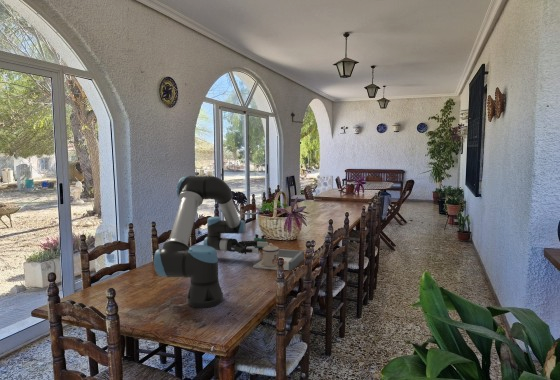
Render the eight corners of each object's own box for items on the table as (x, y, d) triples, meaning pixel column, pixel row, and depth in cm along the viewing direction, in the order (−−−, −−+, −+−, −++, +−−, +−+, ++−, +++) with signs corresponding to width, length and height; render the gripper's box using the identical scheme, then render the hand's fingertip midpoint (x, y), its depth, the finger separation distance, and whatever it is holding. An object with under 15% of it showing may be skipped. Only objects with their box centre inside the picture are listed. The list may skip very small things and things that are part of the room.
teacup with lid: (275, 267, 201) (274, 246, 200) (259, 265, 205) (259, 244, 204) (283, 261, 212) (283, 241, 211) (269, 260, 216) (268, 239, 215)
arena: (291, 271, 198) (291, 262, 198) (253, 267, 206) (252, 258, 205) (303, 259, 219) (303, 250, 218) (268, 256, 226) (268, 248, 226)
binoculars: (271, 234, 241) (264, 235, 233) (271, 250, 242) (263, 253, 233) (259, 232, 246) (251, 234, 237) (259, 248, 246) (251, 251, 237)
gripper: (239, 245, 231) (271, 248, 224) (218, 257, 208) (253, 260, 201) (238, 233, 230) (271, 236, 223) (218, 243, 207) (253, 246, 200)
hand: (263, 247), depth 212 cm, fingers open, 13 cm apart
